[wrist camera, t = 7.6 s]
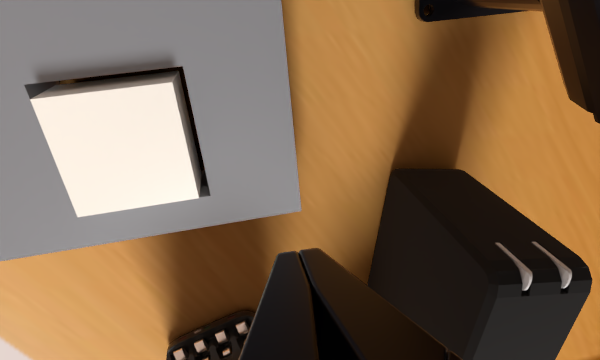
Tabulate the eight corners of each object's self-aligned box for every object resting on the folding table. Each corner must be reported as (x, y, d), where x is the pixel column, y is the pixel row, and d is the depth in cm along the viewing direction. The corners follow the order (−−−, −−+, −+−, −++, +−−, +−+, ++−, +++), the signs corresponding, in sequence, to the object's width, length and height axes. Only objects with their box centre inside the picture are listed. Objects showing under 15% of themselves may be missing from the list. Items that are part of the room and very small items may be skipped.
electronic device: (363, 298, 26) (434, 453, 18) (390, 163, 22) (502, 277, 13) (419, 295, 27) (514, 441, 18) (456, 164, 23) (602, 272, 14)
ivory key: (178, 70, 17) (172, 82, 15) (201, 175, 19) (199, 198, 17) (55, 84, 16) (29, 99, 14) (94, 191, 18) (77, 217, 16)
